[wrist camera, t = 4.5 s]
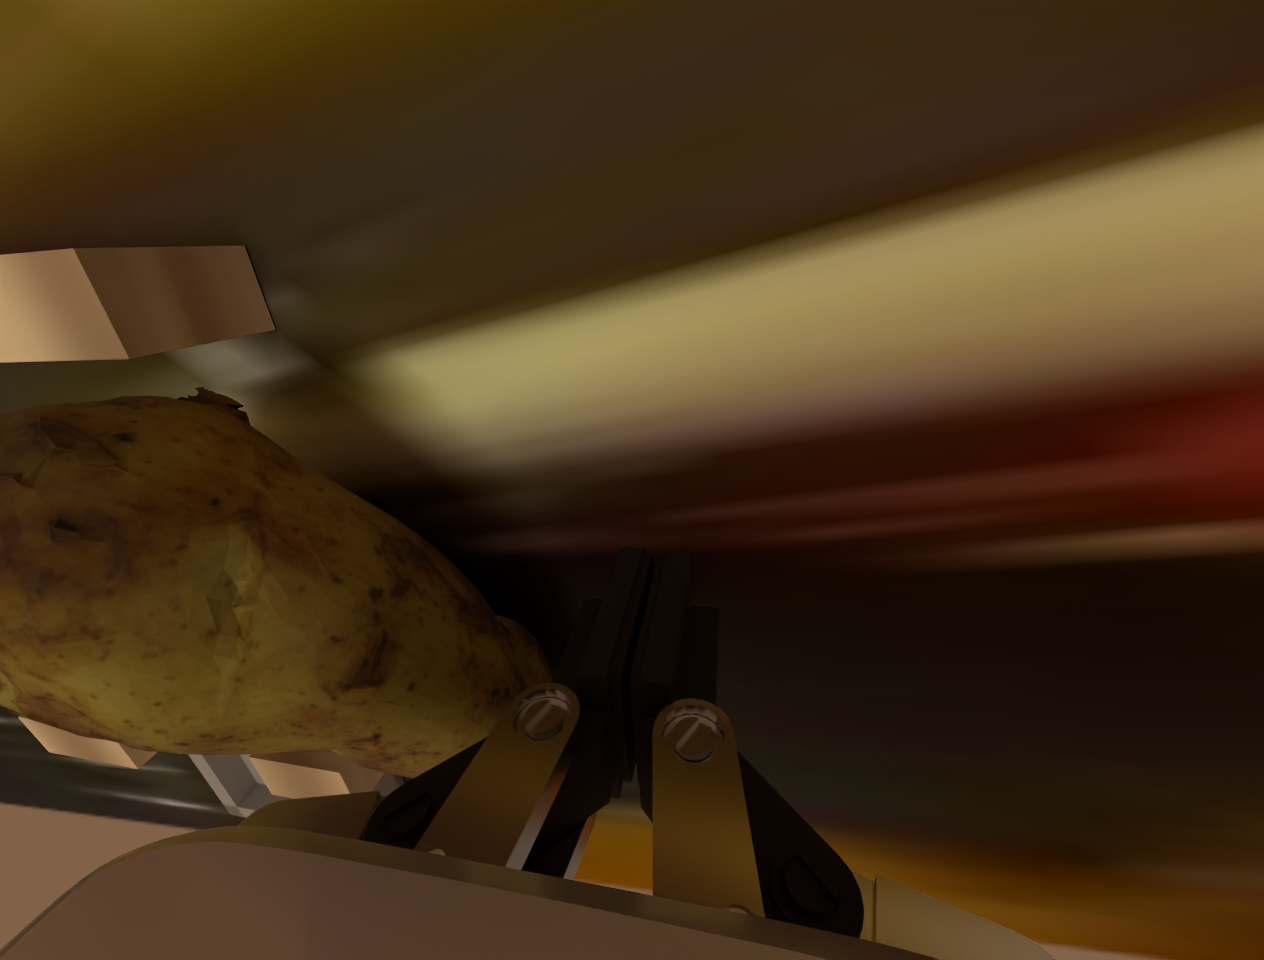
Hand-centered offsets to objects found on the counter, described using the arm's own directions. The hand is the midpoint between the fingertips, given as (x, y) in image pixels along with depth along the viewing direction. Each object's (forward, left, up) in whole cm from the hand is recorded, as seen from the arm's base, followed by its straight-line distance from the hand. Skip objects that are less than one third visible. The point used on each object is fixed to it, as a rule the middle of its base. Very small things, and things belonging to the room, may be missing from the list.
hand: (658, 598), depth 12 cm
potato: (+8, 0, -2) cm, 8 cm away
